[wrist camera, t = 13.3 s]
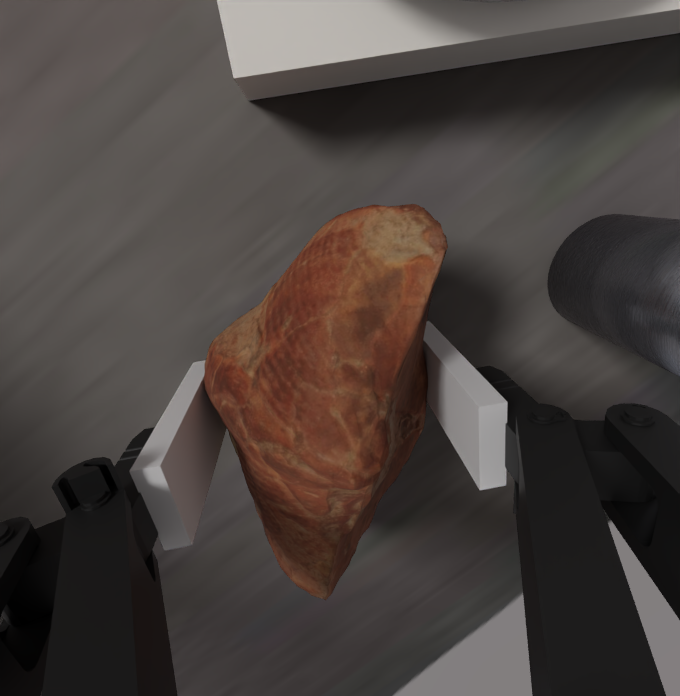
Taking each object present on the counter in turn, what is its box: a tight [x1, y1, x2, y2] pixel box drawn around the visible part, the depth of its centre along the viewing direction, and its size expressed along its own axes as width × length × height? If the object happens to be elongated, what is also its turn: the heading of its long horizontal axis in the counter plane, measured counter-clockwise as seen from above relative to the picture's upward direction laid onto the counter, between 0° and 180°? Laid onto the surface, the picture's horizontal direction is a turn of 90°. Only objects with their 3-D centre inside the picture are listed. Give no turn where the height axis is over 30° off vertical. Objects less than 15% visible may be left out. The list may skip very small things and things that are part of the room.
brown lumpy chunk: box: [204, 204, 448, 600], centre depth 14 cm, size 13×8×10 cm
